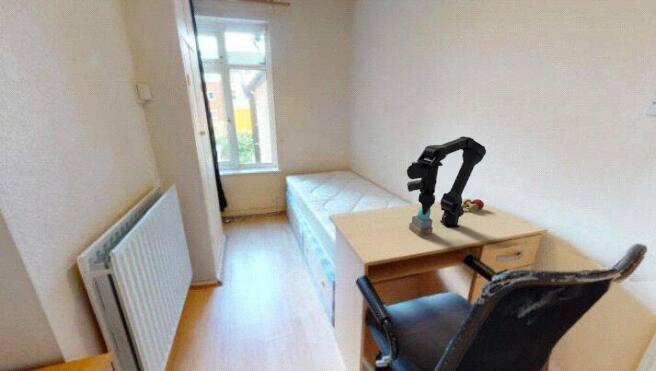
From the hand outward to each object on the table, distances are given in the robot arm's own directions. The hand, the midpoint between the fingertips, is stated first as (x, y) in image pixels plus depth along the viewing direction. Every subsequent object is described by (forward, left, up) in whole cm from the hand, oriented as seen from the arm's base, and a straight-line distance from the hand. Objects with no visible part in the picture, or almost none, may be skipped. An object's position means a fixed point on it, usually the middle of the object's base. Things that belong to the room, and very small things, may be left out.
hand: (424, 210), depth 112 cm
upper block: (0, 0, -7) cm, 7 cm away
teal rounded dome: (0, 0, -4) cm, 4 cm away
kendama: (-36, -22, -11) cm, 43 cm away
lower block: (0, 0, -11) cm, 11 cm away
